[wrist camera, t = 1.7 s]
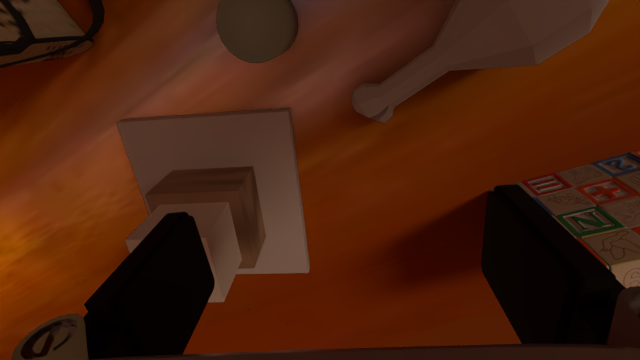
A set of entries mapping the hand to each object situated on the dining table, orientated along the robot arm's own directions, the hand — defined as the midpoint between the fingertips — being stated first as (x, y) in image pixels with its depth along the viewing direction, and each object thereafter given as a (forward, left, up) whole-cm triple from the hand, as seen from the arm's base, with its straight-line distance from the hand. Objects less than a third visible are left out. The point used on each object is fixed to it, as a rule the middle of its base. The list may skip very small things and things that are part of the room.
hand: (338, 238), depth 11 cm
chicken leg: (-4, +9, -21) cm, 23 cm away
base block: (+10, -13, -20) cm, 25 cm away
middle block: (+10, -13, -15) cm, 22 cm away
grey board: (+10, -13, -21) cm, 26 cm away
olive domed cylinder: (-6, -6, -21) cm, 23 cm away
